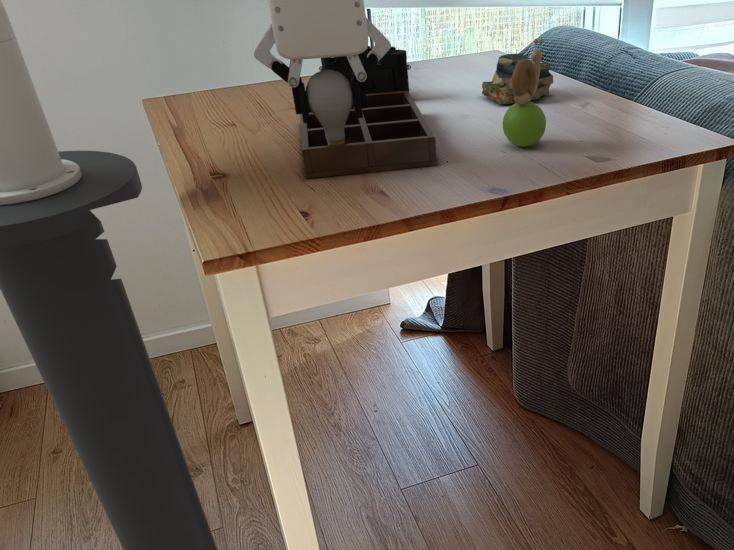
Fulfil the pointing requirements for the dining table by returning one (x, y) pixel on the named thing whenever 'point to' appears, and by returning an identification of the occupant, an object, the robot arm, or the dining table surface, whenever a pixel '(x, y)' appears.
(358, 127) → the compartment tray
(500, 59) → the rock
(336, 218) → the dining table surface
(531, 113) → the snail figurine
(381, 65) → the camera
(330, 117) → the light bulb
